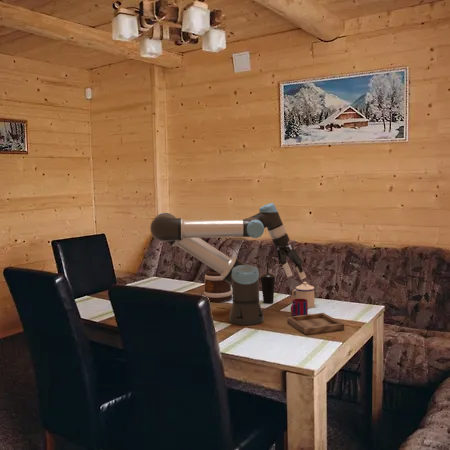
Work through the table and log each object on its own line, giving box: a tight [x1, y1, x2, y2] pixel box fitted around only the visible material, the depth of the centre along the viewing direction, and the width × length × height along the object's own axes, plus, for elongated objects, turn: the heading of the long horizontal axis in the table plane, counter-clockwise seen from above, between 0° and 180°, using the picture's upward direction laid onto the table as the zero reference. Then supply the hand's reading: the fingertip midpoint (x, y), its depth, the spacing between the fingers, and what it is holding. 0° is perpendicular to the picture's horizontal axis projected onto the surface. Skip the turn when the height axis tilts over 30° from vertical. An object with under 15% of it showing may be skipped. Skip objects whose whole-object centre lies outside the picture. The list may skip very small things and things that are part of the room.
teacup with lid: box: [291, 281, 316, 309], centre depth 239 cm, size 12×9×12 cm
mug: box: [203, 268, 233, 303], centre depth 259 cm, size 20×15×15 cm
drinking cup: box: [259, 262, 276, 305], centre depth 247 cm, size 8×8×20 cm
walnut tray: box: [286, 312, 345, 336], centre depth 207 cm, size 17×18×2 cm
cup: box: [290, 298, 309, 316], centre depth 223 cm, size 7×10×7 cm
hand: (296, 277), depth 232 cm, fingers open, 13 cm apart
